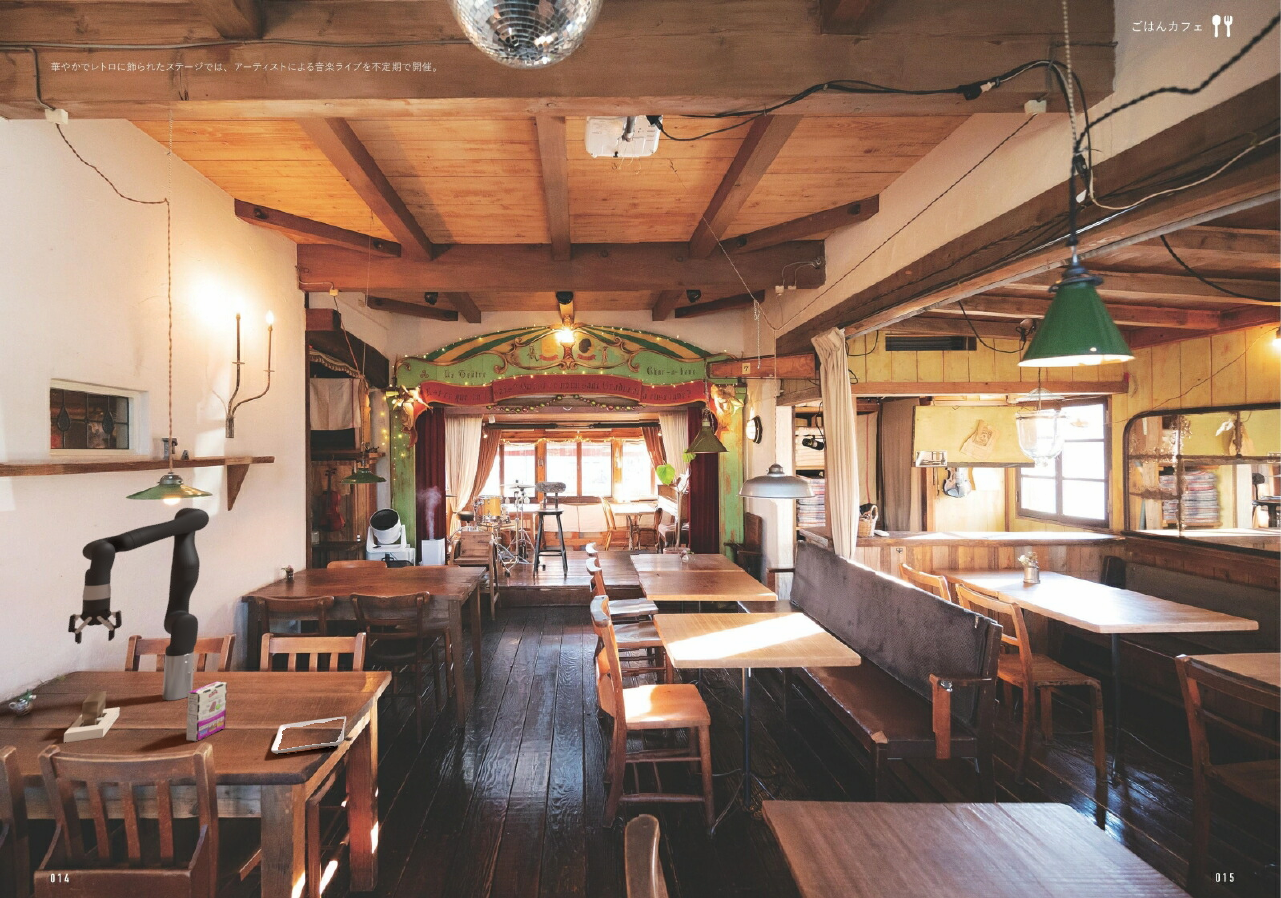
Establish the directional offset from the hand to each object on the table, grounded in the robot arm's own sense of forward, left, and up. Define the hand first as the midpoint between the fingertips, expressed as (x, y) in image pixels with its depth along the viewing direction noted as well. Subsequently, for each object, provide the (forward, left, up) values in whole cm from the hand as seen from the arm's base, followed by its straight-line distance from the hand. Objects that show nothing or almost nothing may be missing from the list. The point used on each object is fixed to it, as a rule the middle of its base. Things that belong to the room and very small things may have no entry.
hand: (94, 641), depth 218 cm
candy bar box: (-38, +29, -29) cm, 55 cm away
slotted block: (-3, +8, -28) cm, 30 cm away
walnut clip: (-3, +8, -28) cm, 30 cm away
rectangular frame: (-70, +49, -29) cm, 90 cm away
